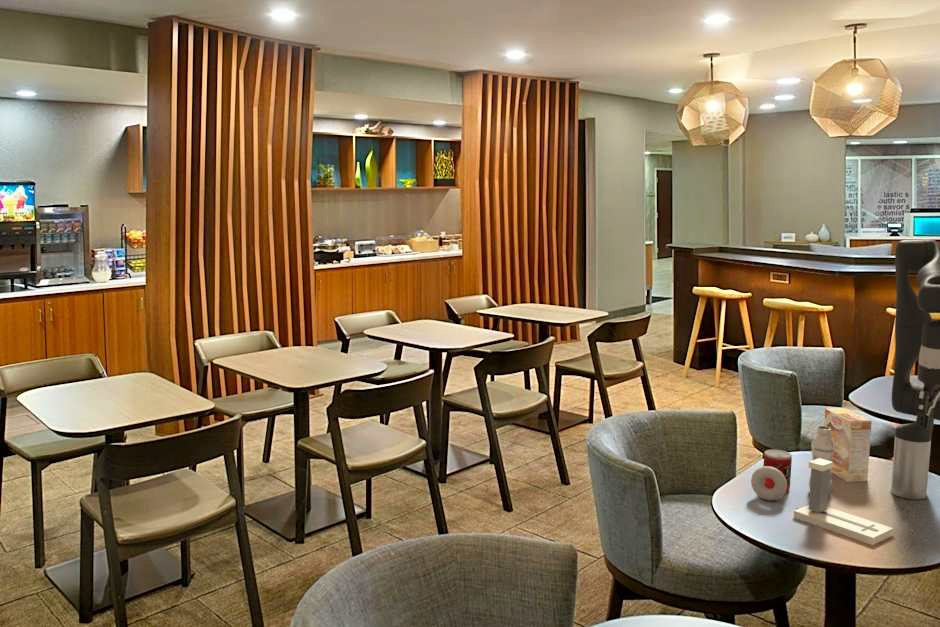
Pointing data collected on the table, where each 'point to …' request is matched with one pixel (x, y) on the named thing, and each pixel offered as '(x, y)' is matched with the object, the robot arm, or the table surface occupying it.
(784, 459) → the canned food
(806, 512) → the fader deck
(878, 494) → the table surface
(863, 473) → the coffeecake box
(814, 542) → the table surface
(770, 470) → the donut
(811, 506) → the slider knob
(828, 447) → the plastic bottle
